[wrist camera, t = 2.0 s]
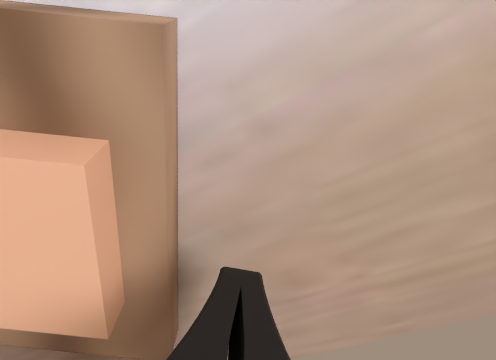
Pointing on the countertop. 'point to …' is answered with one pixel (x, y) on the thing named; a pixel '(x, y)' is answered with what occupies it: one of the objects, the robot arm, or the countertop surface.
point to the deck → (120, 141)
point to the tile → (58, 236)
